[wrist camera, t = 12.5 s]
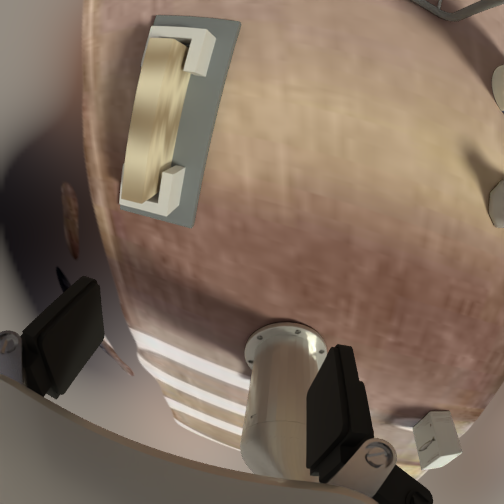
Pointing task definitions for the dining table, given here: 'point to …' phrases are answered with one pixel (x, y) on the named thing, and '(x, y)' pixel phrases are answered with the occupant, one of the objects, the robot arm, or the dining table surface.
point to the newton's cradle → (486, 3)
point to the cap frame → (190, 113)
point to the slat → (155, 118)
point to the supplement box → (436, 440)
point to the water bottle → (498, 86)
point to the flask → (497, 205)
